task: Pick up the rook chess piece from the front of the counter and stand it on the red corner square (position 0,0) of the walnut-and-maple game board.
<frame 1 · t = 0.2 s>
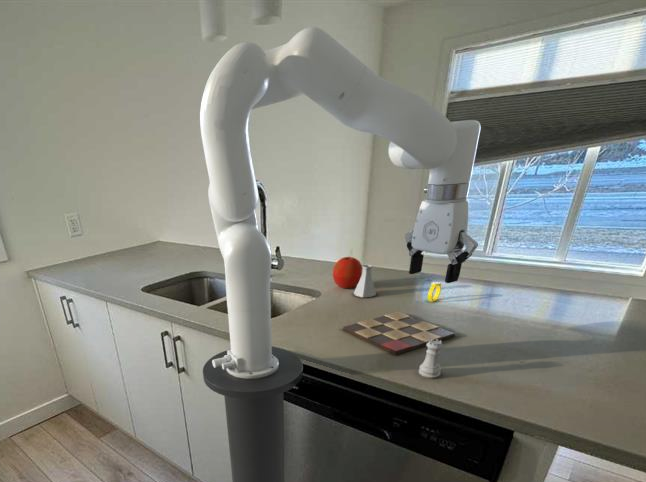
hand: (432, 277, 90), 19 cm above the worktop, tool pointing down, fingers open, 9 cm apart
yellow ring: (432, 301, 130), on the worktop
flask: (364, 295, 141), on the worktop
rook chess piece: (428, 375, 90), on the worktop
board: (396, 333, 110), on the worktop
apple: (346, 287, 150), on the worktop
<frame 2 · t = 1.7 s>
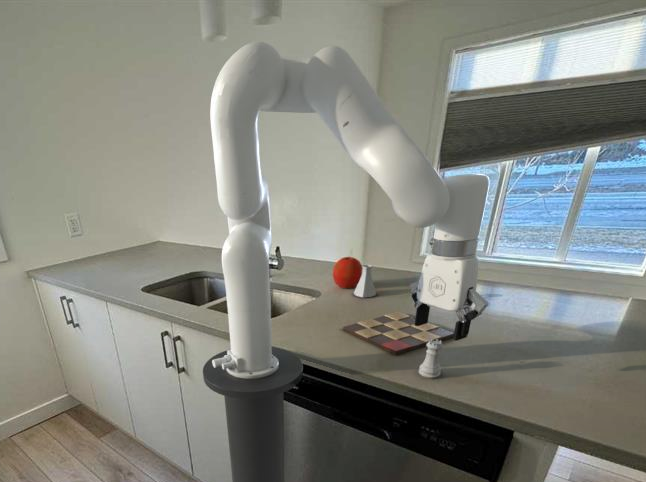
hand: (439, 331, 85), 10 cm above the worktop, tool pointing down, fingers open, 9 cm apart
nothing on the worktop moved.
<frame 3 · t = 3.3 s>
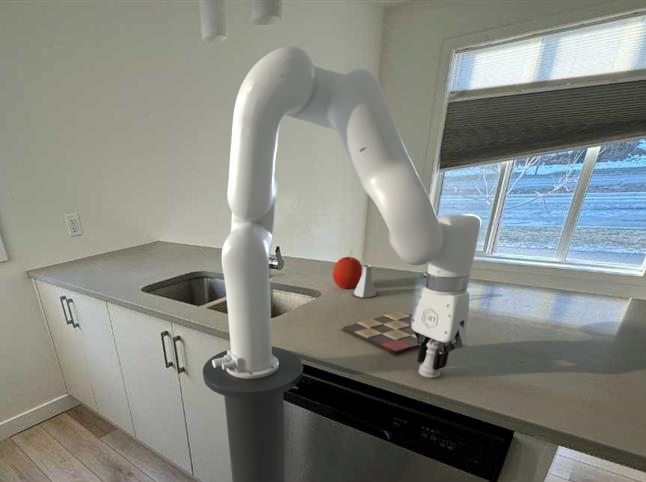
hand: (431, 363, 89), 3 cm above the worktop, tool pointing down, fingers closed on rook chess piece, 3 cm apart
rook chess piece: (428, 375, 90), on the worktop, touching gripper
everything else where it was.
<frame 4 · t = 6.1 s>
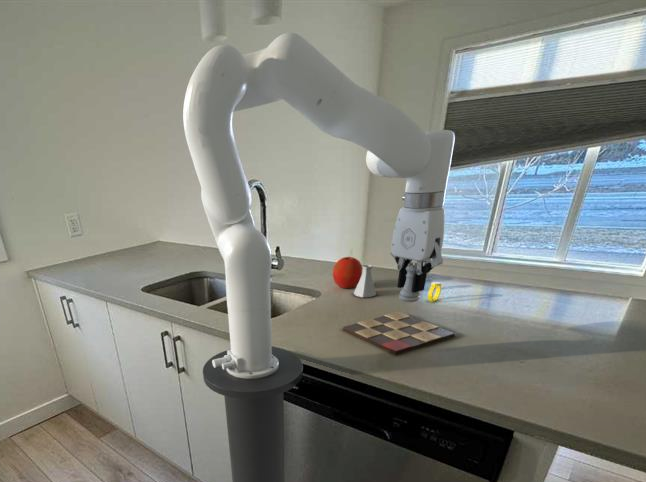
hand: (410, 288, 92), 17 cm above the worktop, tool pointing down, fingers closed on rook chess piece, 3 cm apart
rook chess piece: (408, 300, 93), point 14 cm above the worktop, touching gripper
everything else where it was.
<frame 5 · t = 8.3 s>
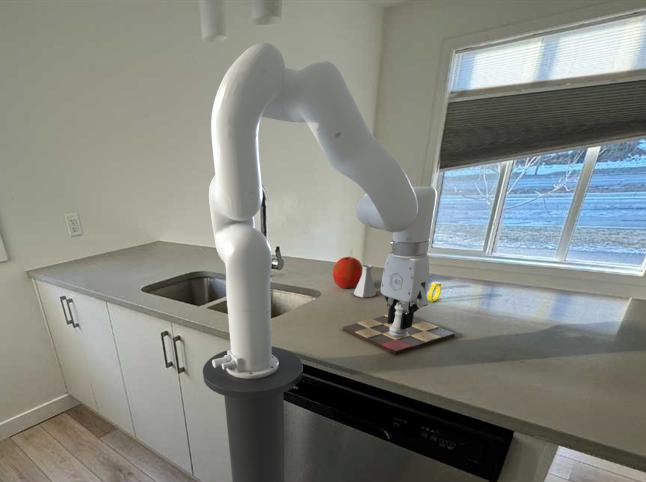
hand: (399, 324, 99), 7 cm above the worktop, tool pointing down, fingers closed on rook chess piece, 3 cm apart
rook chess piece: (397, 335, 100), point 4 cm above the worktop, touching gripper
everything else where it was.
when the fingers open (4 cm above the worktop, at t = 9.3 s): rook chess piece stays where it is, resting on board.
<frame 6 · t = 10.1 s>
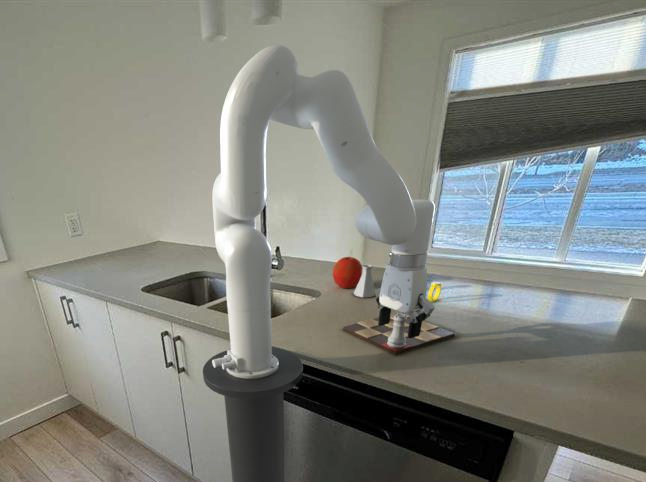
hand: (398, 330, 99), 5 cm above the worktop, tool pointing down, fingers open, 9 cm apart
rook chess piece: (396, 345, 101), point 1 cm above the worktop, touching board
everything else where it was.
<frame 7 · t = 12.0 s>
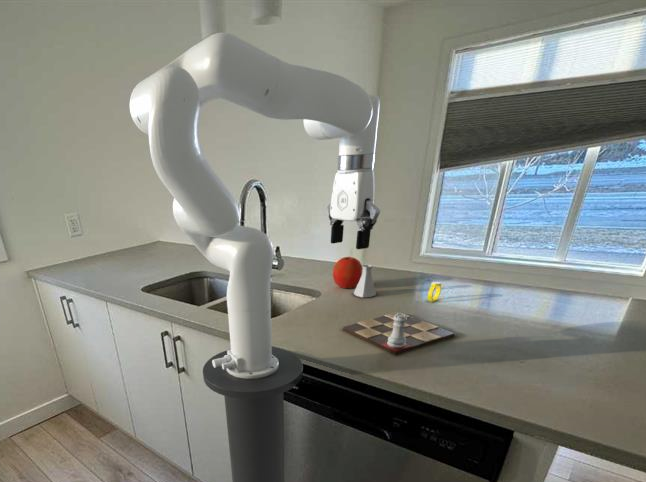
hand: (348, 245, 96), 25 cm above the worktop, tool pointing down, fingers open, 9 cm apart
nothing on the worktop moved.
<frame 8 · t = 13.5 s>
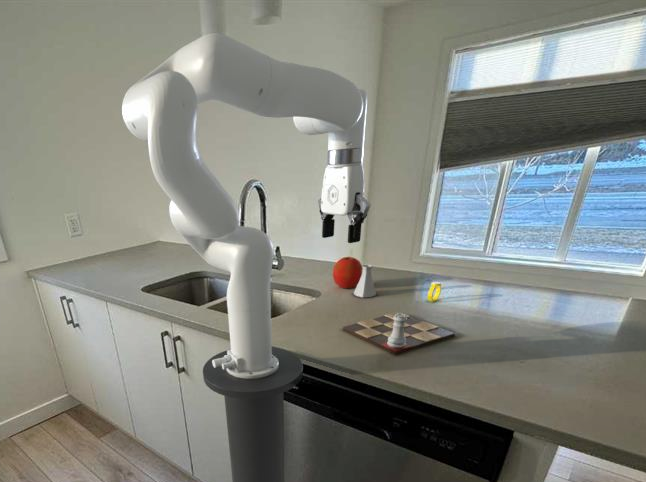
hand: (340, 239, 97), 26 cm above the worktop, tool pointing down, fingers open, 9 cm apart
nothing on the worktop moved.
at the end: rook chess piece 0.0 cm from the target spot on the board, point 1.0 cm above the board's base; rook chess piece tilted 0° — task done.
